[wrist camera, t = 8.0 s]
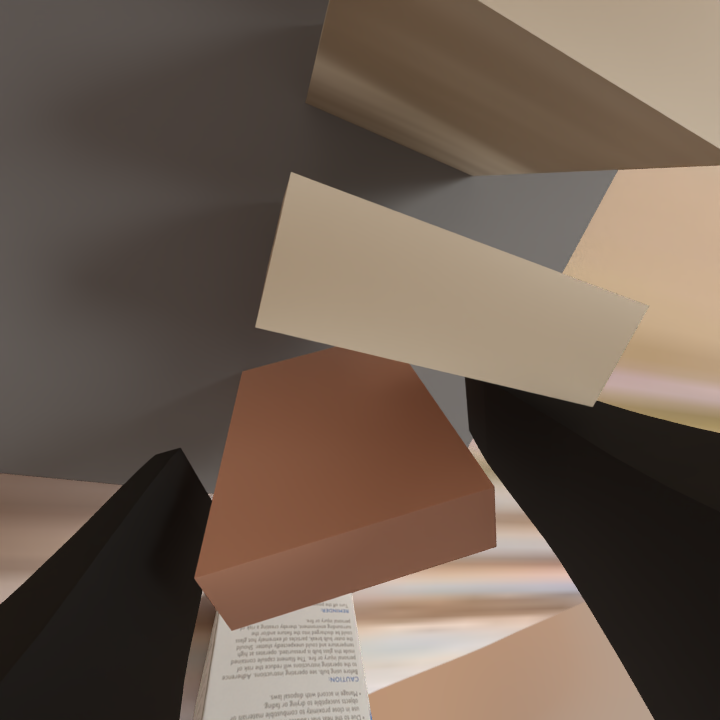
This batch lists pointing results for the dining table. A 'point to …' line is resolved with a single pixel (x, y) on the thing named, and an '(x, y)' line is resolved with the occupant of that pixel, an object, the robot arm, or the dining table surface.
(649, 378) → the dining table surface
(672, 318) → the dining table surface
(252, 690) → the light bulb box
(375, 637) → the dining table surface
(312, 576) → the domino
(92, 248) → the rubber mat
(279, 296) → the domino
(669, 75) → the domino
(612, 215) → the dining table surface
